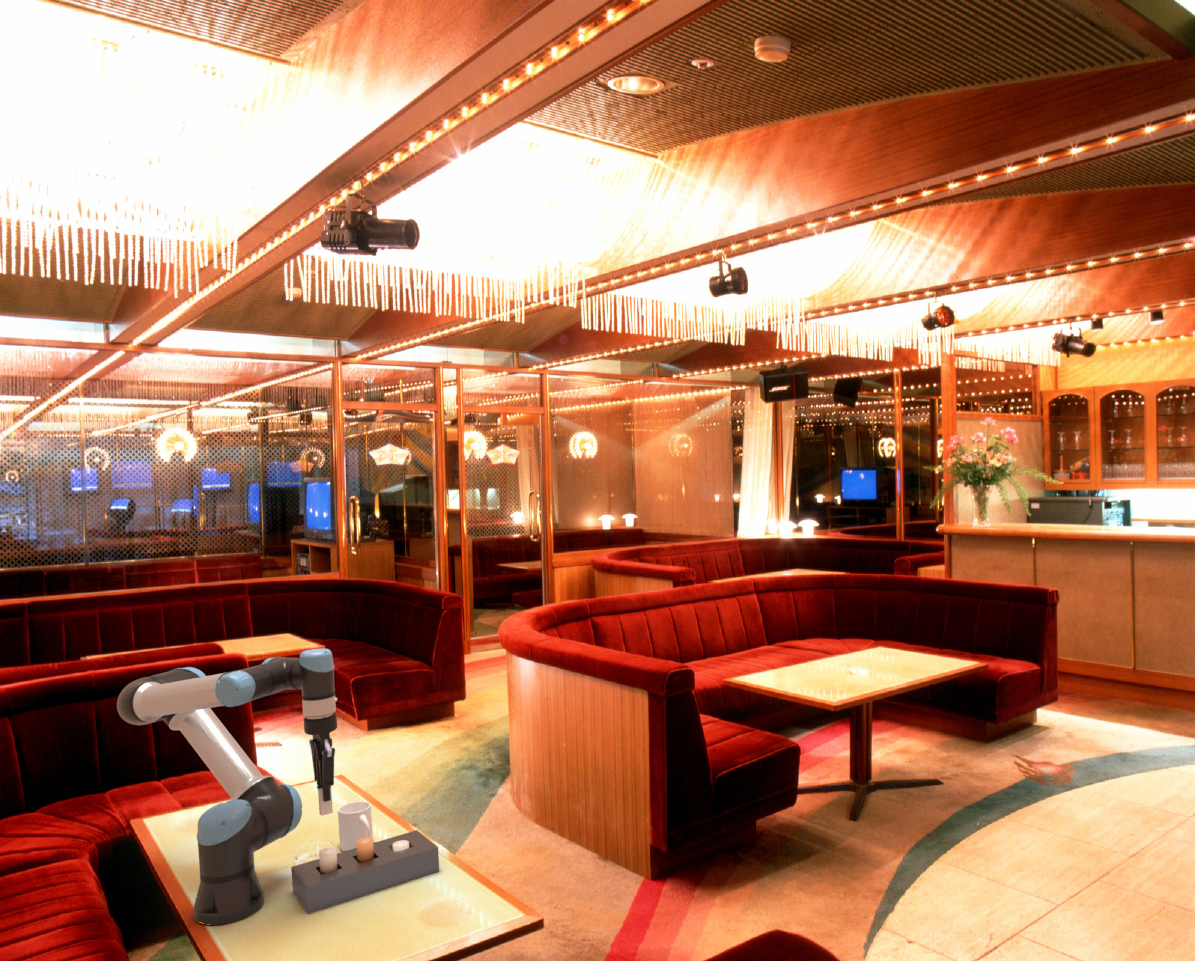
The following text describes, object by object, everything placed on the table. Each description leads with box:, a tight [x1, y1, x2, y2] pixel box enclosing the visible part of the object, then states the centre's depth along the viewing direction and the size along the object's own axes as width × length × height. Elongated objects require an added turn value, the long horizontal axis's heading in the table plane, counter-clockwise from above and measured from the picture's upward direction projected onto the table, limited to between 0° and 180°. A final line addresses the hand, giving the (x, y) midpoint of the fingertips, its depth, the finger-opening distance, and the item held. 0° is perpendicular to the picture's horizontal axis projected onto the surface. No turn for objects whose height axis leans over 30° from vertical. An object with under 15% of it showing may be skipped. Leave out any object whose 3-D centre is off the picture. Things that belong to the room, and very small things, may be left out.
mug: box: [337, 800, 374, 852], centre depth 228 cm, size 9×12×11 cm
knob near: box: [318, 847, 338, 875], centre depth 203 cm, size 4×4×5 cm
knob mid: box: [356, 837, 374, 863], centre depth 208 cm, size 4×4×5 cm
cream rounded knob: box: [393, 840, 409, 852], centre depth 213 cm, size 4×4×5 cm
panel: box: [290, 830, 440, 915], centre depth 208 cm, size 32×14×6 cm, turn 124°
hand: (326, 813), depth 203 cm, fingers closed
